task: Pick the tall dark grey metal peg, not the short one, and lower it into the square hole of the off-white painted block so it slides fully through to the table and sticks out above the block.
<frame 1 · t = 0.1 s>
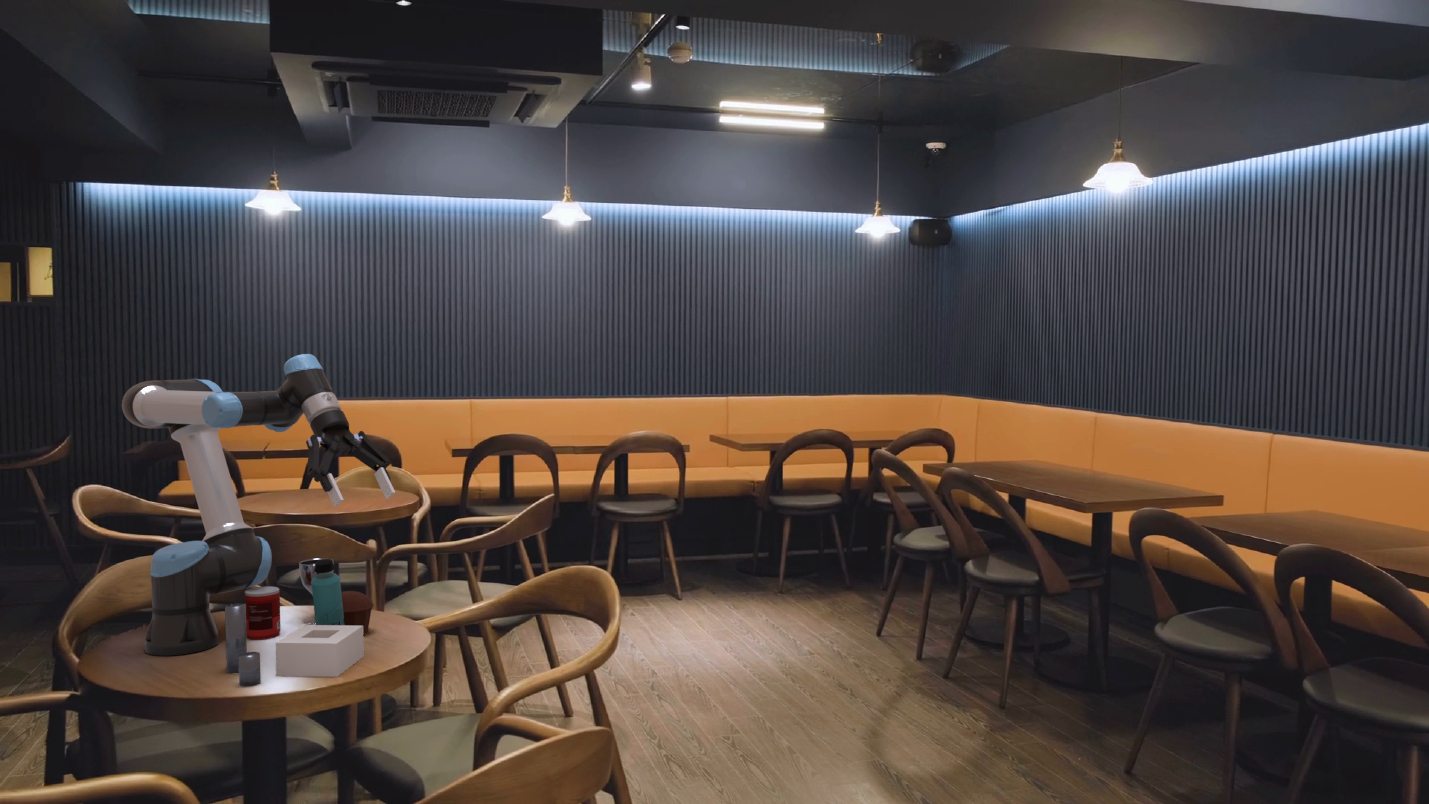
hand: (365, 499, 220), 36 cm above the table, tool tilted 35°, fingers open, 13 cm apart
beverage bottle: (332, 643, 237), on the table
long peg: (237, 670, 218), on the table
short peg: (250, 683, 209), on the table
hole block: (321, 666, 221), on the table
canned food: (263, 636, 245), on the table
muffin: (348, 634, 246), on the table
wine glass: (317, 621, 258), on the table
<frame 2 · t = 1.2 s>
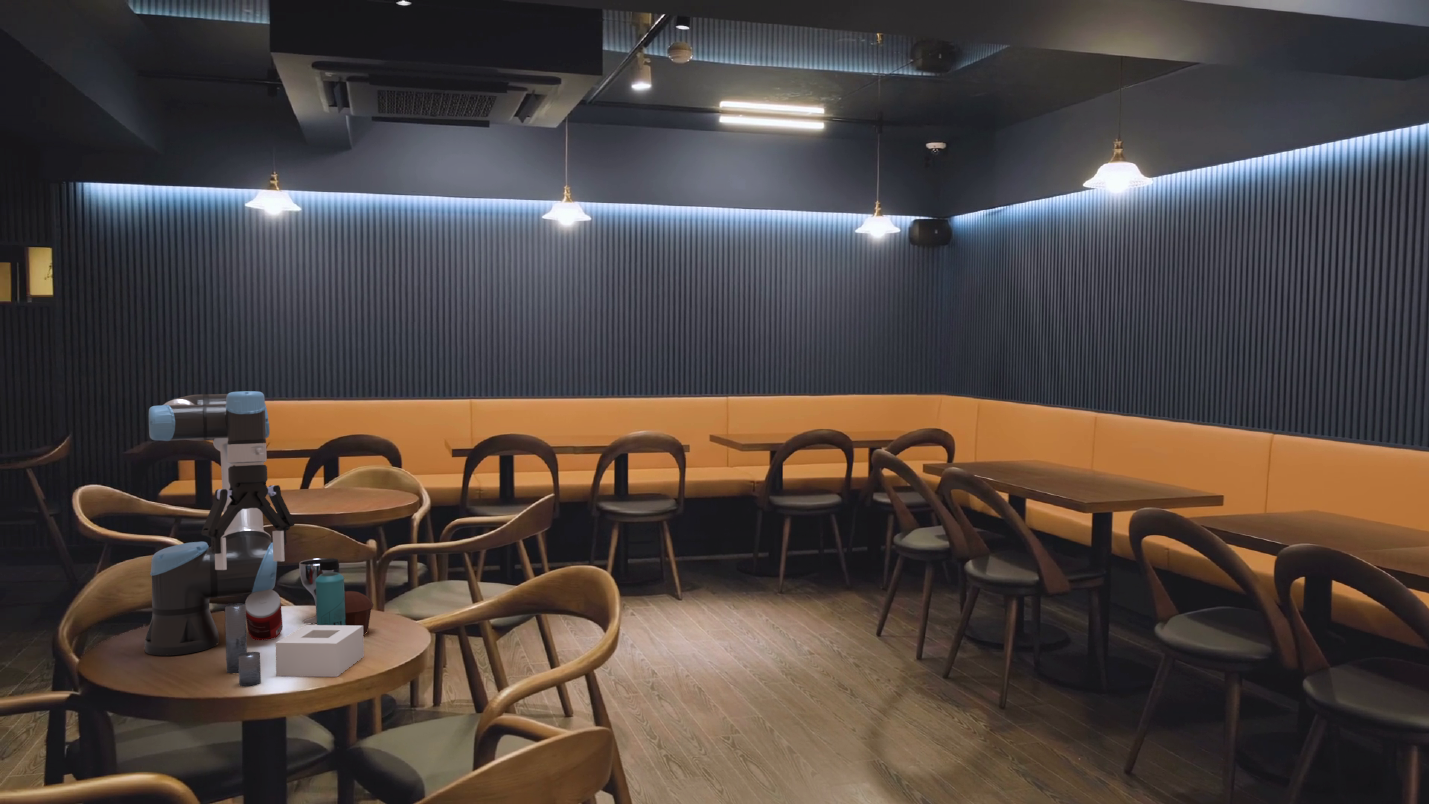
hand: (250, 565, 216), 23 cm above the table, tool pointing down, fingers open, 13 cm apart
canned food: (265, 630, 245), point 1 cm above the table, touching arm
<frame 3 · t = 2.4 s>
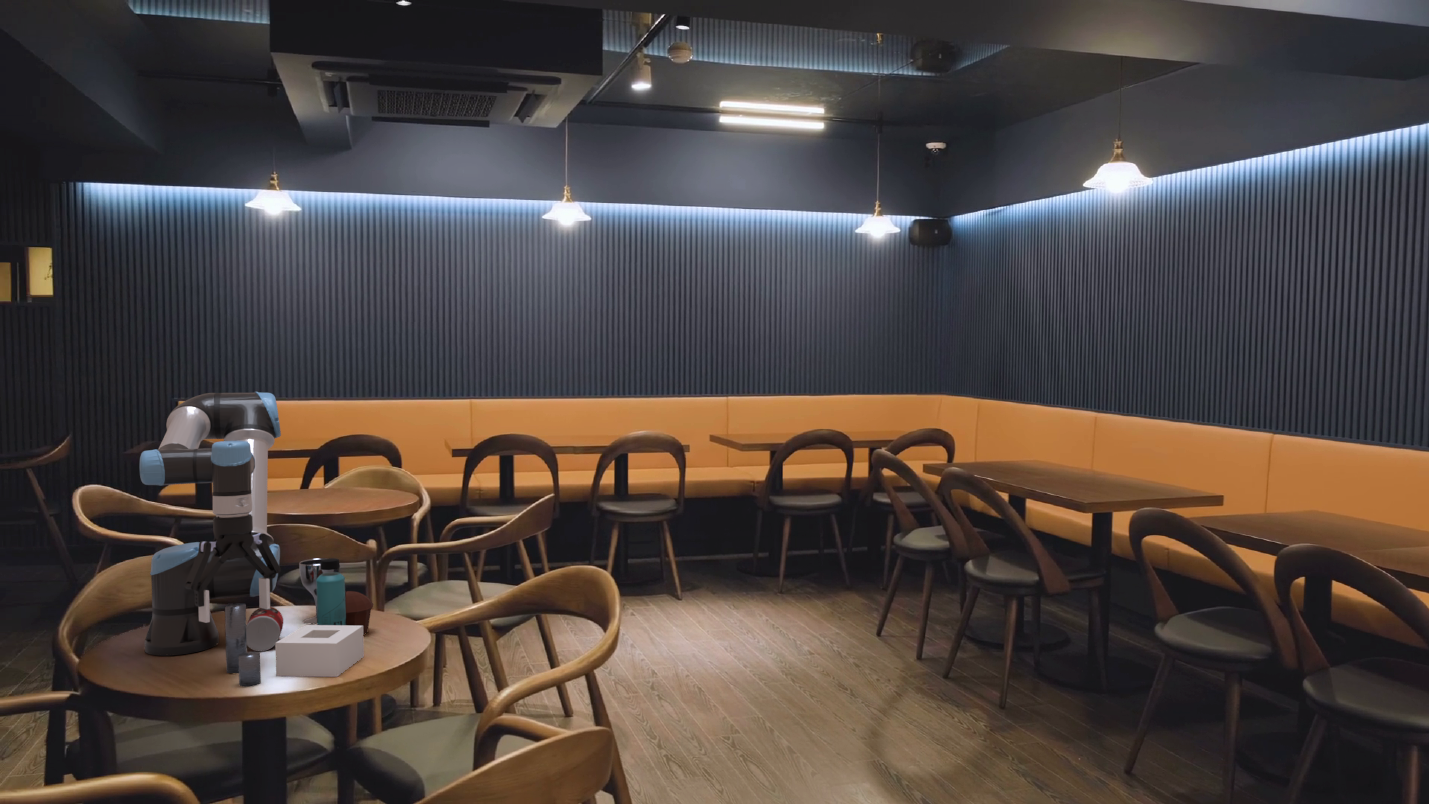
hand: (235, 614, 217), 12 cm above the table, tool pointing down, fingers open, 13 cm apart
canned food: (266, 621, 242), point 4 cm above the table
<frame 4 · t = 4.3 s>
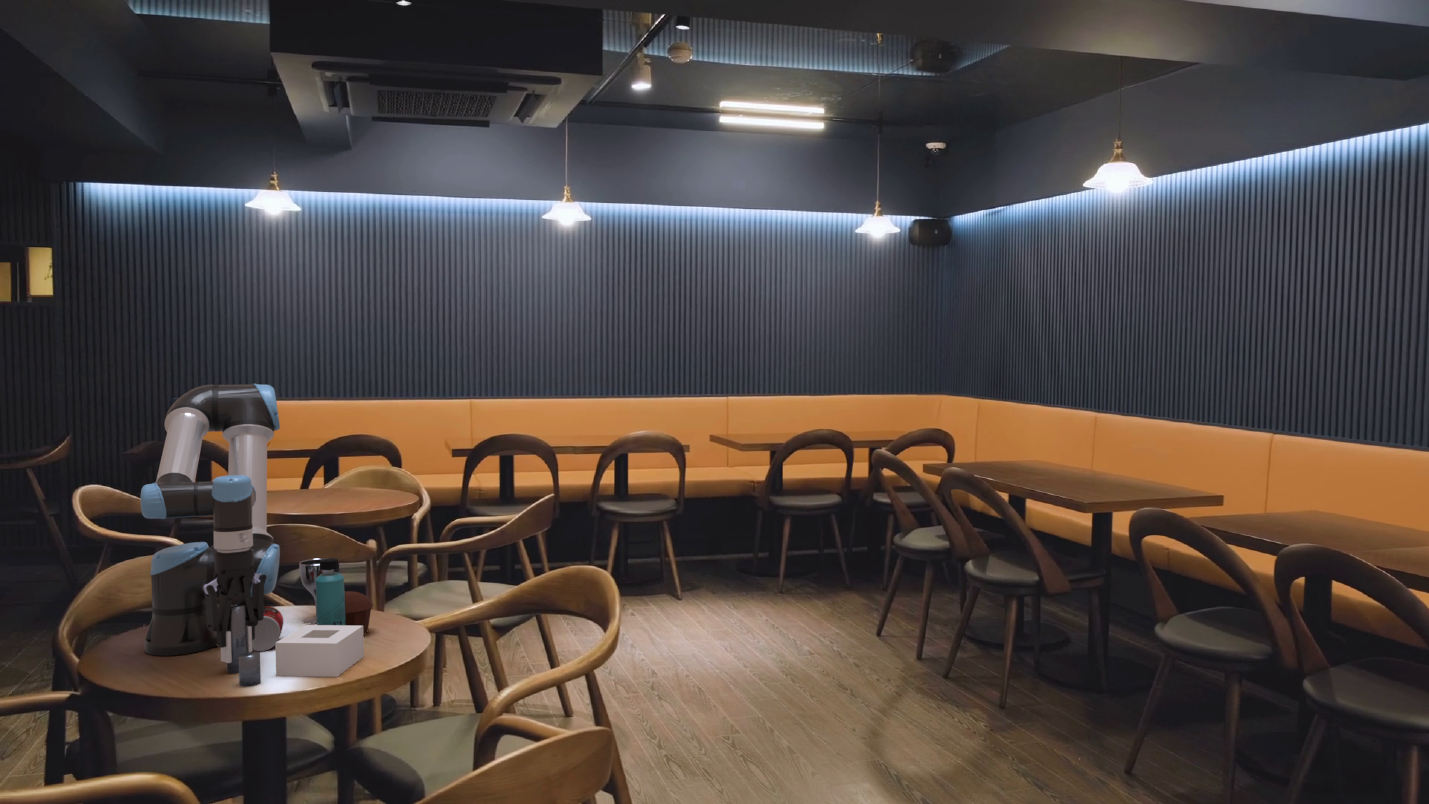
hand: (236, 658, 217), 3 cm above the table, tool pointing down, fingers closed on long peg, 4 cm apart
long peg: (237, 670, 218), on the table, touching gripper
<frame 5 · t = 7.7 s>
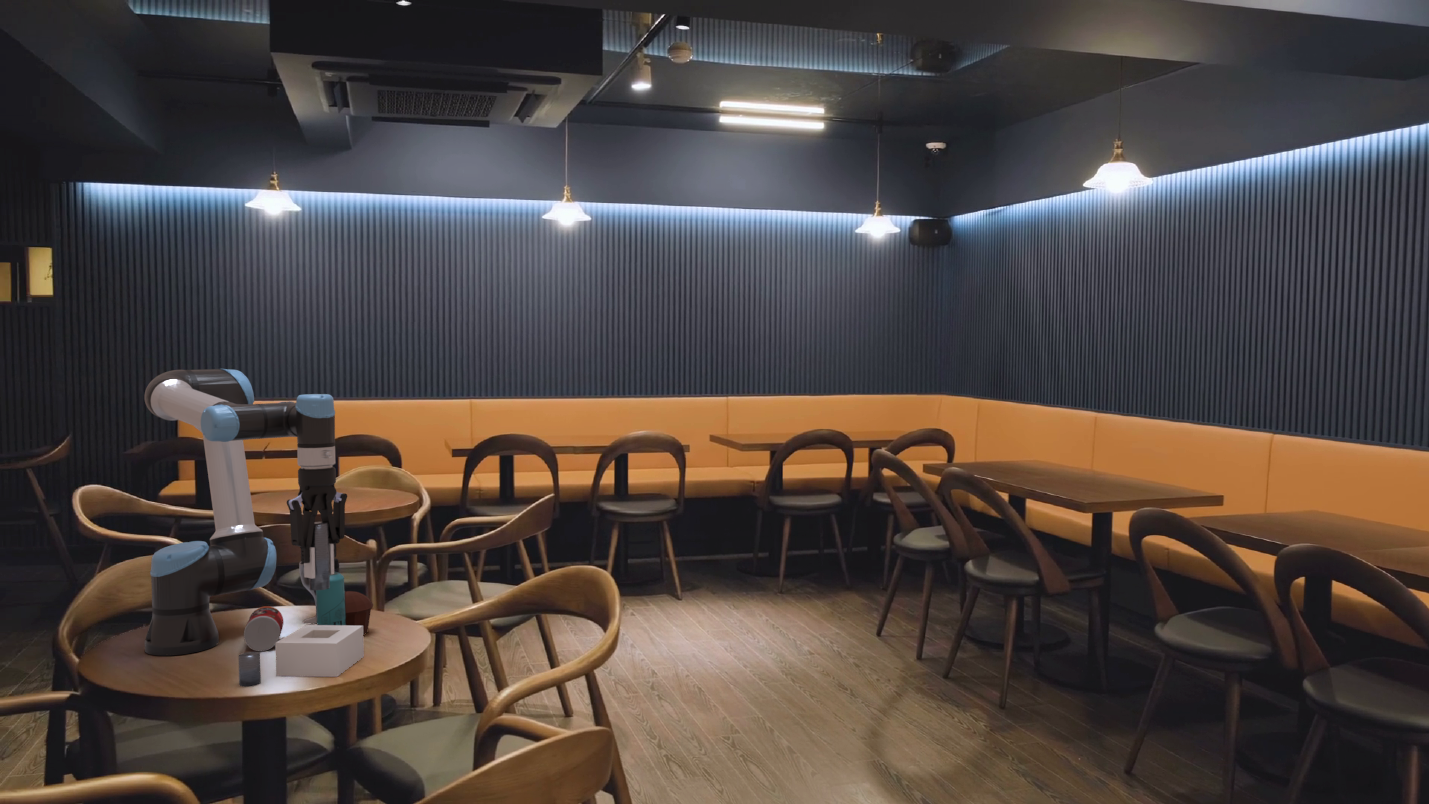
hand: (319, 575, 220), 20 cm above the table, tool pointing down, fingers closed on long peg, 4 cm apart
long peg: (319, 588, 220), point 17 cm above the table, touching gripper
when the fingers open (8 cm above the table, at t = 11.1 s): long peg drops 4 cm, resting in hole block.
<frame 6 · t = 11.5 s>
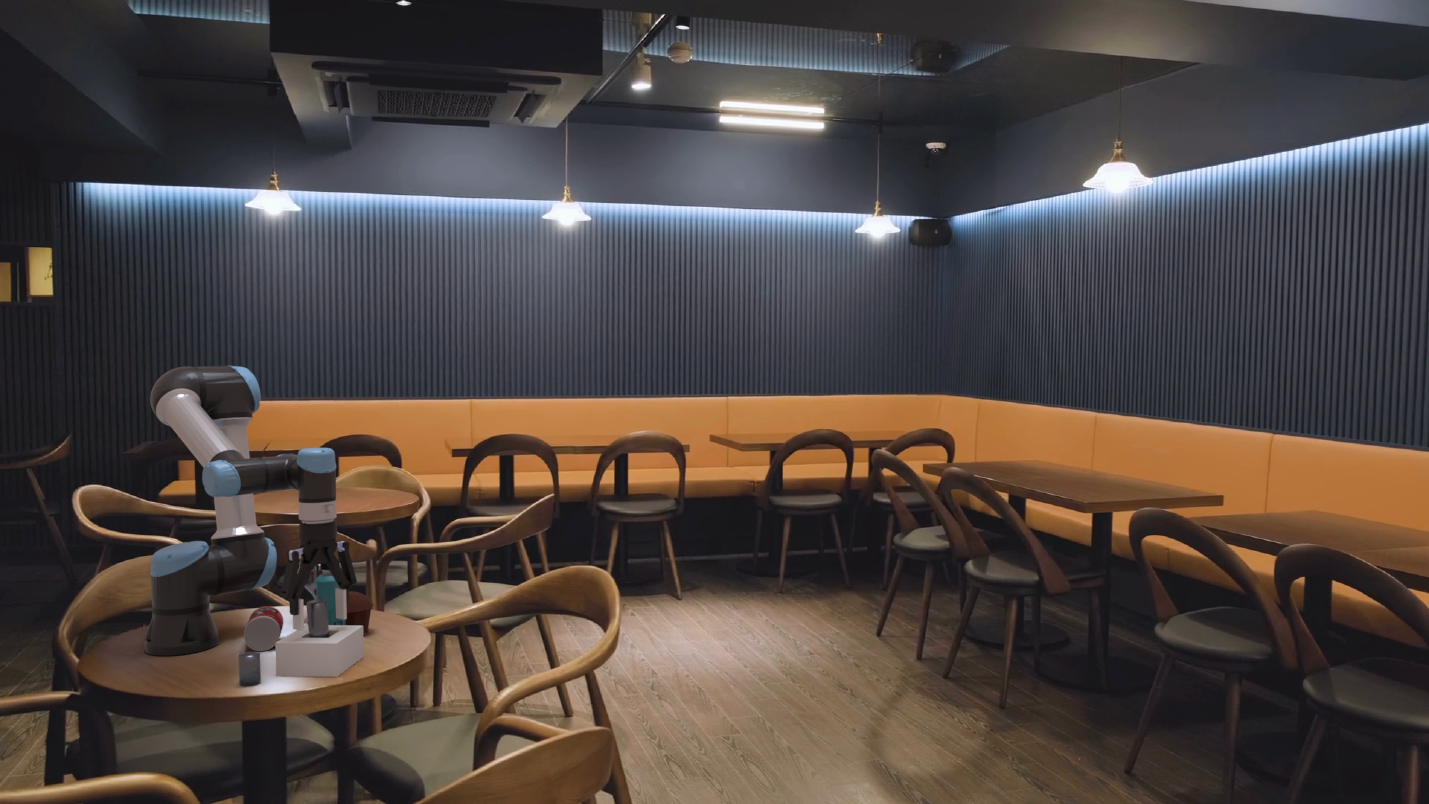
hand: (320, 623, 220), 9 cm above the table, tool pointing down, fingers open, 10 cm apart
long peg: (321, 665, 221), resting in hole block
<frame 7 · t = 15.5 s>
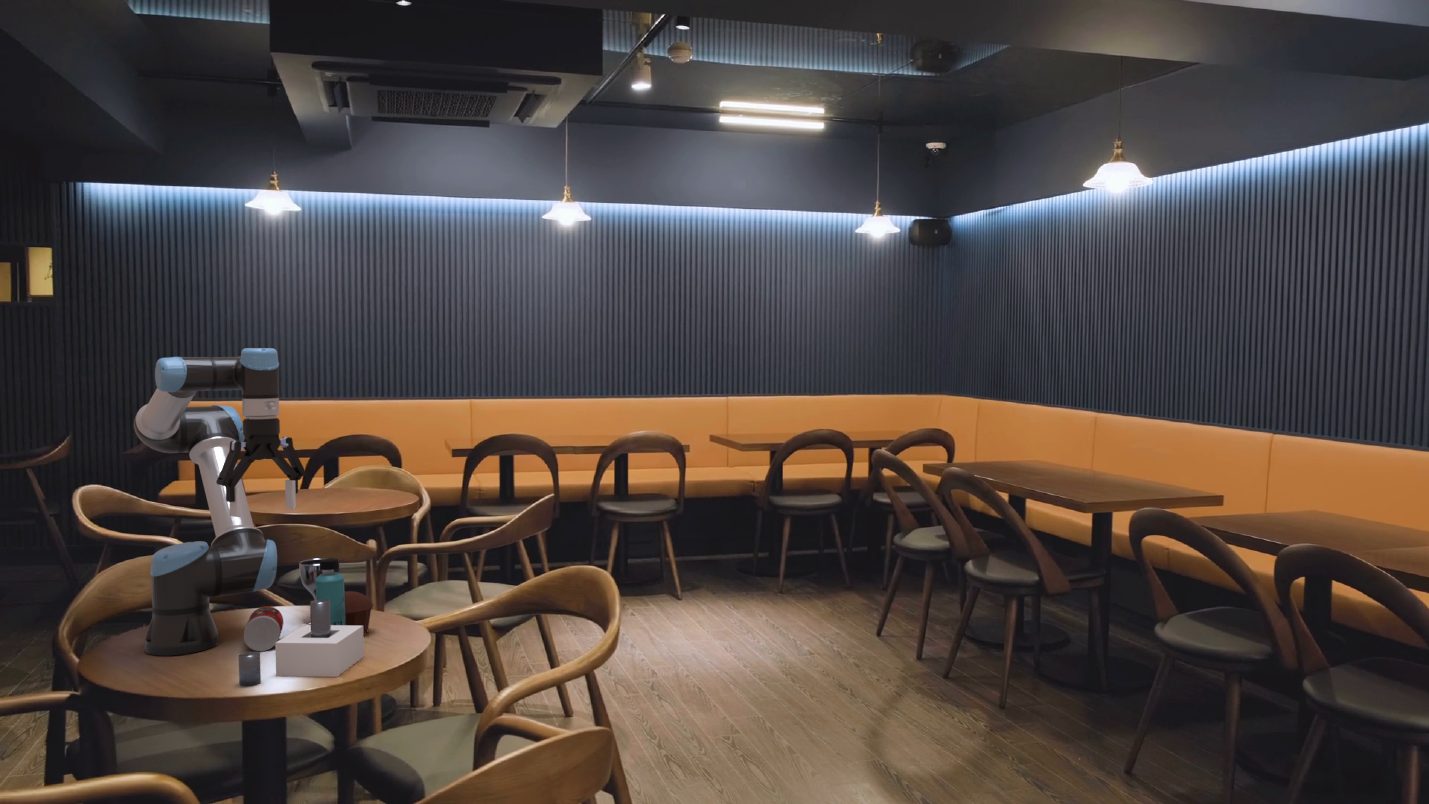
hand: (263, 512, 229), 32 cm above the table, tool pointing down, fingers open, 13 cm apart
at the end: long peg 0.1 cm off-centre on the hole block, point 0.0 cm above the hole block's base; long peg tilted 0°; short peg moved 0.0 cm from its start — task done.
